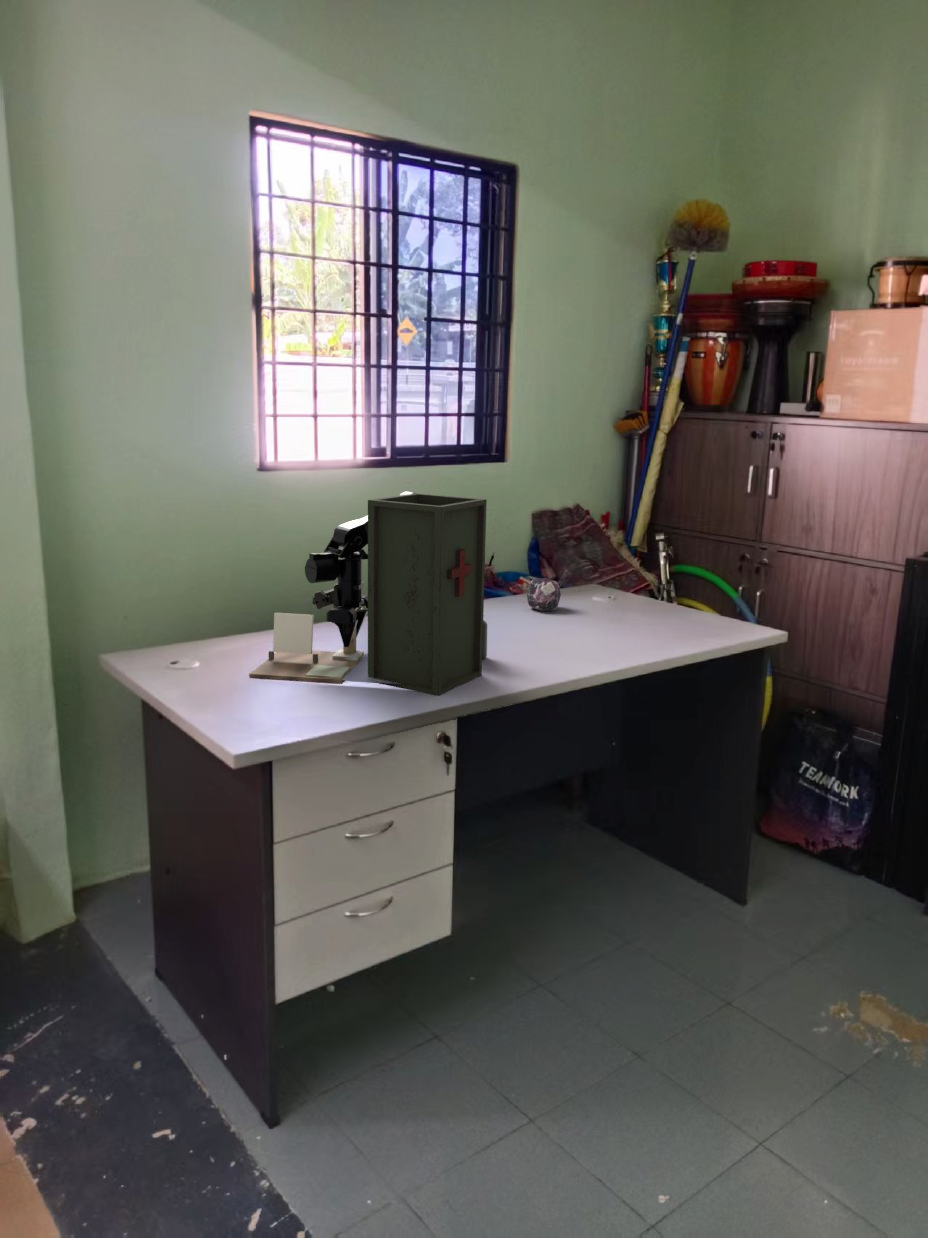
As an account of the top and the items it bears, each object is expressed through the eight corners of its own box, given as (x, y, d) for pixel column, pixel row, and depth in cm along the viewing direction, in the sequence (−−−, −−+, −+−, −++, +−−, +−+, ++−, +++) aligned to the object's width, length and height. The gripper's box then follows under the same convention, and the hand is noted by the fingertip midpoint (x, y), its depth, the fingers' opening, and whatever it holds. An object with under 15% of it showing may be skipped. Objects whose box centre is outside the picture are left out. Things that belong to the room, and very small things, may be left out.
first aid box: (414, 662, 231) (415, 493, 222) (481, 675, 222) (486, 499, 213) (367, 681, 216) (367, 500, 207) (438, 695, 207) (441, 506, 198)
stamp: (363, 654, 234) (363, 621, 232) (357, 660, 228) (357, 627, 226) (339, 652, 235) (339, 620, 233) (332, 659, 229) (332, 626, 227)
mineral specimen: (522, 606, 285) (525, 573, 287) (529, 613, 295) (532, 581, 297) (555, 608, 282) (558, 574, 284) (561, 615, 292) (564, 582, 294)
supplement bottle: (490, 656, 238) (491, 608, 236) (481, 663, 232) (483, 614, 229) (463, 653, 241) (464, 605, 238) (454, 660, 234) (455, 611, 232)
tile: (313, 614, 226) (312, 615, 225) (312, 653, 226) (310, 654, 225) (276, 612, 227) (274, 612, 226) (274, 651, 227) (272, 651, 226)
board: (366, 657, 235) (366, 646, 234) (341, 684, 213) (341, 671, 213) (281, 652, 237) (281, 640, 237) (249, 678, 216) (249, 665, 216)
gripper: (327, 570, 239) (328, 632, 242) (304, 584, 221) (305, 651, 224) (371, 572, 237) (371, 634, 241) (352, 587, 219) (352, 654, 223)
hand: (349, 643), depth 232 cm, fingers open, 6 cm apart
